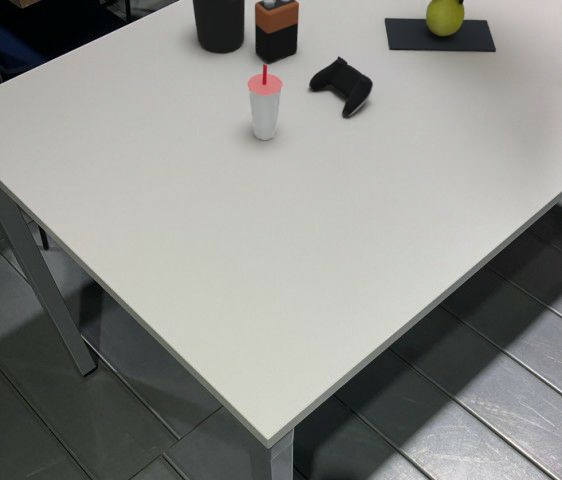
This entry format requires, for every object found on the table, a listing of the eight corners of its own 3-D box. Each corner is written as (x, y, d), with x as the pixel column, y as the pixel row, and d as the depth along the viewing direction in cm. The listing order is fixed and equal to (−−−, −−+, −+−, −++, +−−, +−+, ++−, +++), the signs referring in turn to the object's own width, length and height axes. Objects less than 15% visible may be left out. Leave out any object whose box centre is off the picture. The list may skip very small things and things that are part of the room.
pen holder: (248, 53, 114) (247, -3, 106) (197, 56, 113) (192, 0, 105) (243, 24, 119) (241, -32, 110) (194, 27, 118) (188, -29, 110)
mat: (486, 22, 121) (486, 19, 121) (495, 51, 116) (496, 49, 116) (384, 19, 121) (384, 17, 121) (389, 49, 116) (389, 47, 115)
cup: (266, 118, 105) (266, 50, 94) (287, 134, 103) (290, 66, 92) (242, 132, 103) (239, 64, 92) (263, 148, 101) (263, 80, 90)
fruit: (427, 45, 116) (443, -23, 106) (417, 25, 120) (432, -43, 109) (462, 42, 117) (481, -26, 107) (452, 22, 120) (469, -46, 110)
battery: (254, 53, 114) (253, -4, 106) (284, 41, 116) (286, -15, 108) (267, 65, 112) (267, 8, 104) (298, 53, 115) (300, -3, 106)
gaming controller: (356, 125, 108) (382, 89, 105) (345, 116, 104) (372, 78, 101) (316, 93, 112) (340, 58, 109) (304, 83, 108) (329, 46, 105)
